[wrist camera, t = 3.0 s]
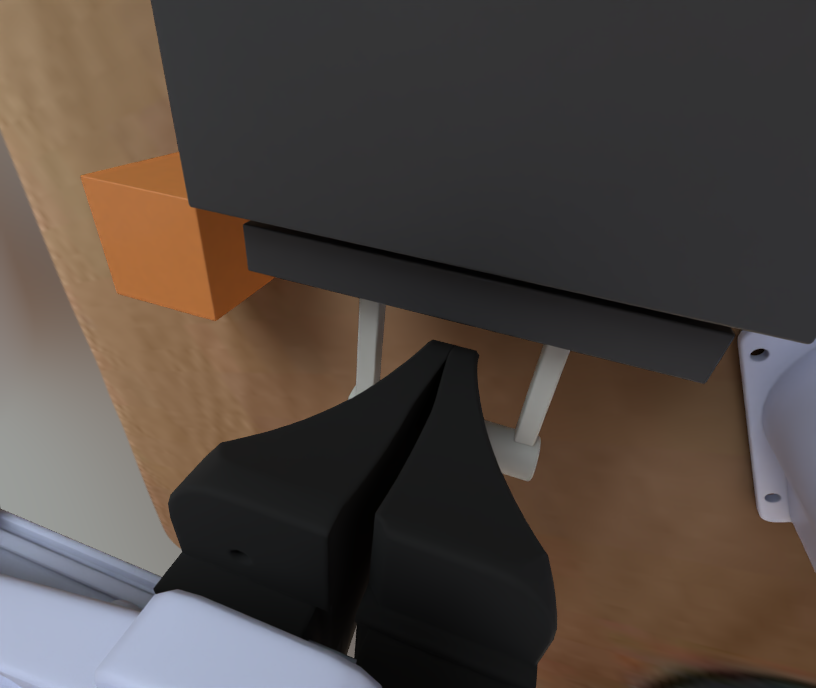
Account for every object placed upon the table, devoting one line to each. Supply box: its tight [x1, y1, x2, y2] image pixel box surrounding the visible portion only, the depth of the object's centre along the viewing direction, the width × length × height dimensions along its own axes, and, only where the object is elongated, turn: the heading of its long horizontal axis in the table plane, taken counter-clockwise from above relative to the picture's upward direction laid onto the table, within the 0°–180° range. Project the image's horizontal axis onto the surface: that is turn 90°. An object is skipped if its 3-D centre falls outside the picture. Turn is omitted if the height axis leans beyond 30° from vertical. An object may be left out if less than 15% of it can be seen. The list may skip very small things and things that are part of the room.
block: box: [81, 152, 275, 321], centre depth 17 cm, size 4×4×5 cm
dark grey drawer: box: [243, 220, 735, 481], centre depth 11 cm, size 17×10×7 cm, turn 174°
